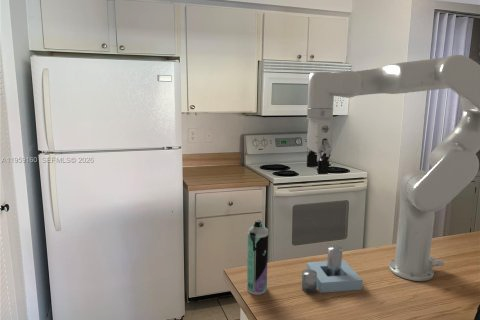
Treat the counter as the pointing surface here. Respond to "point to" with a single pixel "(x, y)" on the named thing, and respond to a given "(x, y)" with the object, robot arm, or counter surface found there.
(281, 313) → the counter surface
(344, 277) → the collar block
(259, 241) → the spray can
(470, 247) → the counter surface
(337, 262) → the long pin
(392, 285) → the counter surface
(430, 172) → the robot arm
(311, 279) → the short pin
